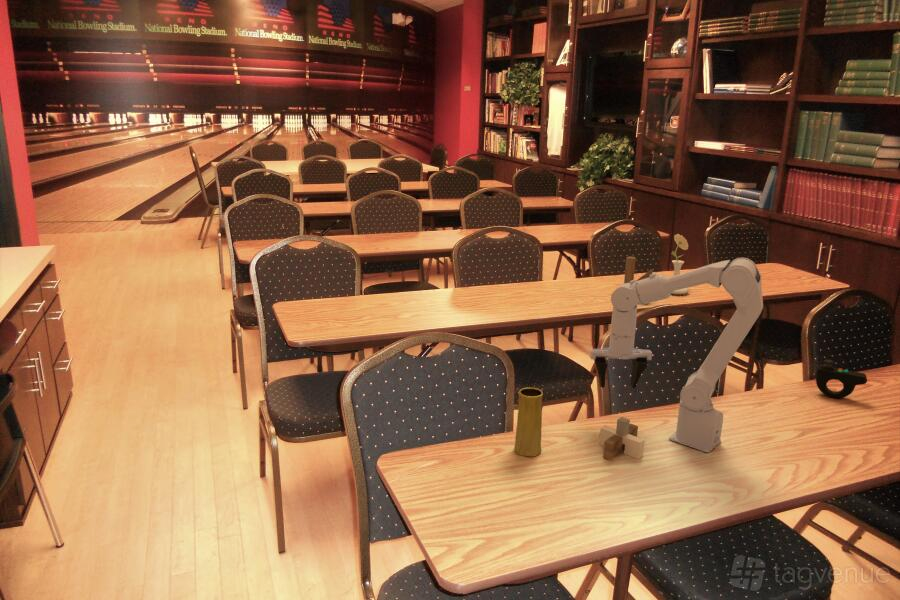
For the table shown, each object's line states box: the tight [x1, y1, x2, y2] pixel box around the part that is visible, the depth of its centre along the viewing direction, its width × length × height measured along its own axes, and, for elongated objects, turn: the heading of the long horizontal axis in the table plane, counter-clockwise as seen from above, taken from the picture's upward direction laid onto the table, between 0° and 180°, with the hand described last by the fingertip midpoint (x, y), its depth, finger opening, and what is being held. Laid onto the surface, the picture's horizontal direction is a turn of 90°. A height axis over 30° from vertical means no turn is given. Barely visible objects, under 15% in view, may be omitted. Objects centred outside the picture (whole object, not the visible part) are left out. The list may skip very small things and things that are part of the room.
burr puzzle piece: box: [598, 416, 646, 460], centre depth 150 cm, size 10×2×8 cm, turn 46°
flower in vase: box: [670, 233, 690, 295], centre depth 282 cm, size 13×11×25 cm
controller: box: [813, 359, 868, 399], centre depth 180 cm, size 4×12×10 cm, turn 58°
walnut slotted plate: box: [602, 423, 639, 461], centre depth 150 cm, size 12×2×4 cm, turn 138°
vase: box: [513, 387, 544, 458], centre depth 148 cm, size 6×6×14 cm
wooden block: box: [623, 256, 654, 306], centre depth 267 cm, size 4×11×18 cm, turn 54°
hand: (617, 386), depth 162 cm, fingers open, 7 cm apart
